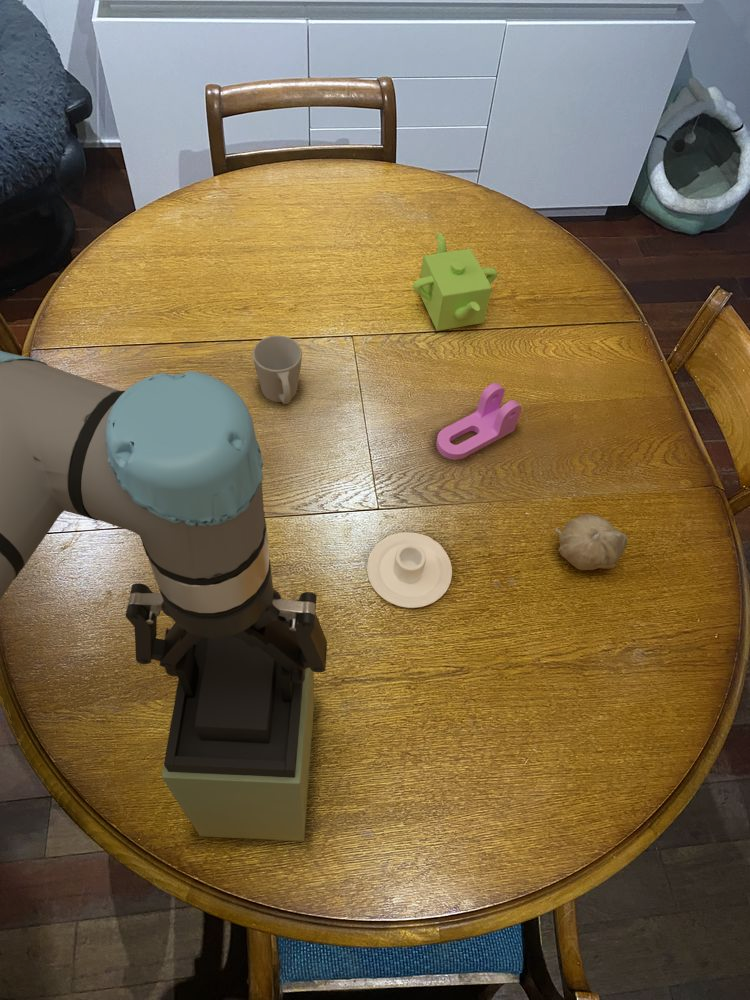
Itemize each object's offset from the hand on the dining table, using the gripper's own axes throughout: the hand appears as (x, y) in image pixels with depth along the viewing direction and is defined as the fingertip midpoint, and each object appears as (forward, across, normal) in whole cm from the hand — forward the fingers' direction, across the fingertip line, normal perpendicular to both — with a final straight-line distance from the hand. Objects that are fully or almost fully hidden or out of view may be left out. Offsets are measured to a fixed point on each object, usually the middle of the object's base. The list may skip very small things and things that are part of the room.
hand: (240, 684), depth 71 cm
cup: (+29, +3, -59) cm, 66 cm away
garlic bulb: (+29, -43, -32) cm, 61 cm away
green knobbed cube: (+29, -25, -81) cm, 90 cm away
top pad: (+1, 0, 0) cm, 1 cm away
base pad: (+2, 0, 0) cm, 2 cm away
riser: (+29, 0, 0) cm, 29 cm away
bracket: (+29, -28, -53) cm, 67 cm away
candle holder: (+29, -18, -28) cm, 44 cm away
